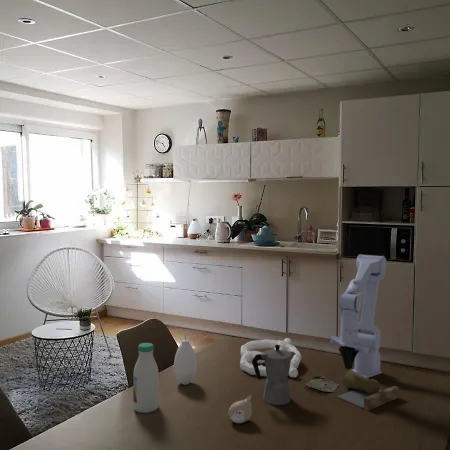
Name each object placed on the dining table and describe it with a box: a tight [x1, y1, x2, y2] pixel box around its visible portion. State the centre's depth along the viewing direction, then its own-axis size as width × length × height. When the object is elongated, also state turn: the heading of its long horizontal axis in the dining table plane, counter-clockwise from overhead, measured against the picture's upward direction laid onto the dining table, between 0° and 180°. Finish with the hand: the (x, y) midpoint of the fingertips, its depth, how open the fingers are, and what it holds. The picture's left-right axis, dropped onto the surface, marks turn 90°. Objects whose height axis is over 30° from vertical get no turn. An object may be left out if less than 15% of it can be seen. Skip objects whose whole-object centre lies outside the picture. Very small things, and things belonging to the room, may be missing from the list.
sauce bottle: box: [173, 333, 198, 386], centre depth 167 cm, size 8×8×18 cm
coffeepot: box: [252, 345, 296, 406], centre depth 154 cm, size 15×9×18 cm, turn 110°
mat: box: [337, 389, 382, 409], centre depth 157 cm, size 16×10×1 cm, turn 127°
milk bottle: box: [132, 342, 160, 414], centre depth 147 cm, size 8×8×20 cm
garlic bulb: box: [227, 394, 253, 424], centre depth 139 cm, size 7×6×8 cm
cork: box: [343, 369, 381, 395], centre depth 160 cm, size 6×6×11 cm
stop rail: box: [363, 385, 400, 412], centre depth 152 cm, size 16×2×4 cm, turn 127°
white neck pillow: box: [239, 337, 303, 379], centre depth 186 cm, size 28×24×6 cm
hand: (348, 368), depth 162 cm, fingers closed
